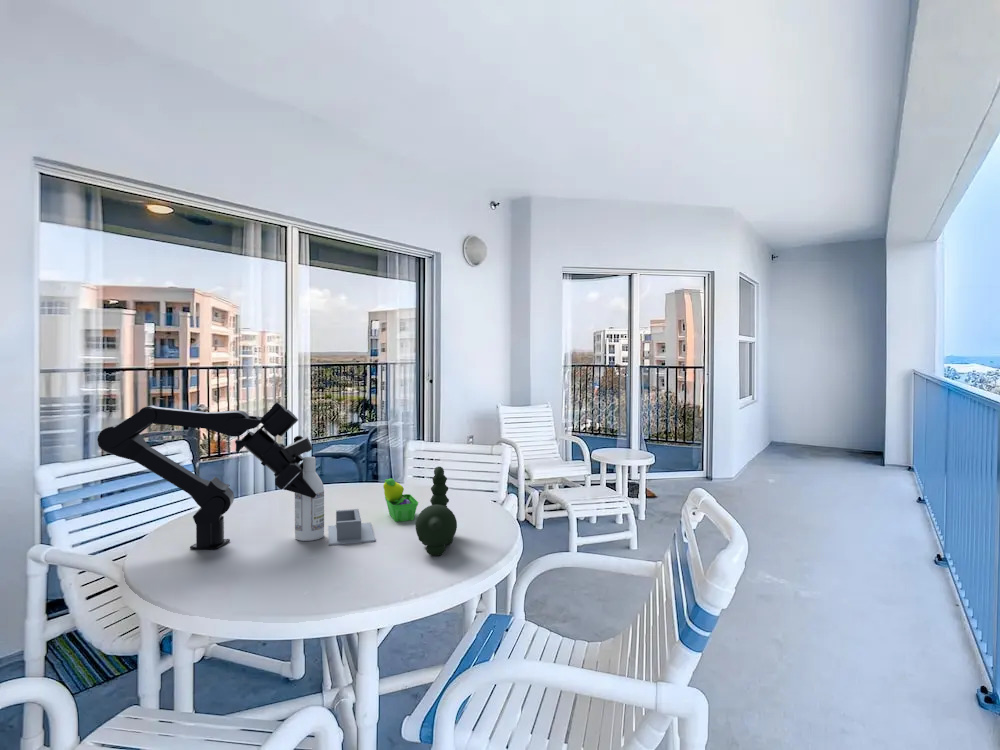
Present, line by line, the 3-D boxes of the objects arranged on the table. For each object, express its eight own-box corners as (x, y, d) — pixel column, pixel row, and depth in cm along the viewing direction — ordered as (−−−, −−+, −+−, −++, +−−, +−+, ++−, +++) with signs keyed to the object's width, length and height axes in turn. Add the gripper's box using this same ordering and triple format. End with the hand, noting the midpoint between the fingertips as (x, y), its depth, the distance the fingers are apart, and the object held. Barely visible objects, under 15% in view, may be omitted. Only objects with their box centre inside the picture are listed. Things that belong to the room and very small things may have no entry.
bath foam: (326, 533, 147) (326, 455, 147) (321, 541, 141) (320, 459, 140) (298, 533, 147) (298, 455, 146) (291, 542, 140) (291, 460, 140)
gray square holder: (328, 545, 137) (328, 525, 137) (328, 527, 153) (328, 509, 153) (375, 541, 140) (375, 521, 140) (370, 524, 156) (370, 506, 156)
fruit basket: (419, 520, 159) (419, 480, 159) (387, 524, 156) (387, 482, 156) (410, 511, 170) (410, 472, 170) (379, 513, 167) (379, 475, 166)
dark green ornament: (421, 538, 148) (412, 563, 123) (421, 464, 150) (412, 474, 125) (457, 538, 149) (456, 562, 124) (458, 464, 150) (456, 474, 125)
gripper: (290, 430, 133) (339, 475, 136) (294, 422, 151) (338, 462, 154) (253, 466, 131) (304, 511, 134) (261, 454, 149) (307, 493, 152)
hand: (315, 492), depth 144 cm, fingers open, 8 cm apart
